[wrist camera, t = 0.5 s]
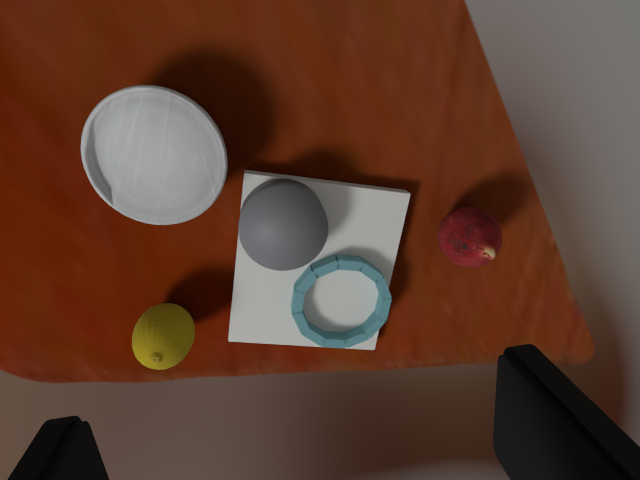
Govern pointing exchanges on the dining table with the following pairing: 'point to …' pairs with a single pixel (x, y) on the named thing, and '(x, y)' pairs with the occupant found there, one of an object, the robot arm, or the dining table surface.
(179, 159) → the ramekin
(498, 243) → the pomegranate
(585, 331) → the dining table surface
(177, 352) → the lemon
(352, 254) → the carrier plate
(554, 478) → the robot arm
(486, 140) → the dining table surface
